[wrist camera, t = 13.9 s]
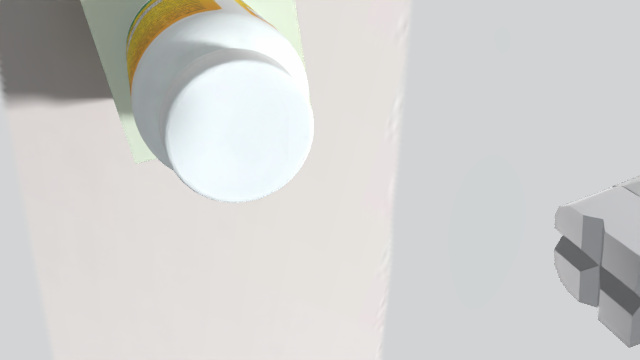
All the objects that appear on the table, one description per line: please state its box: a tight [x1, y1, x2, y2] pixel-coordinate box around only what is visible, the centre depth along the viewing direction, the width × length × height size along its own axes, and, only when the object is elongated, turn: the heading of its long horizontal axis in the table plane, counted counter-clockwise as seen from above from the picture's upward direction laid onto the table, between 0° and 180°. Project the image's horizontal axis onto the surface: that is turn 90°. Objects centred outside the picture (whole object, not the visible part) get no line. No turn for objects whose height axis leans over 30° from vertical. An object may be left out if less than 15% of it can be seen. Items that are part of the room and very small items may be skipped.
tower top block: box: [80, 0, 313, 164], centre depth 26 cm, size 8×8×5 cm
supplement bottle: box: [126, 0, 314, 203], centre depth 19 cm, size 5×5×10 cm
